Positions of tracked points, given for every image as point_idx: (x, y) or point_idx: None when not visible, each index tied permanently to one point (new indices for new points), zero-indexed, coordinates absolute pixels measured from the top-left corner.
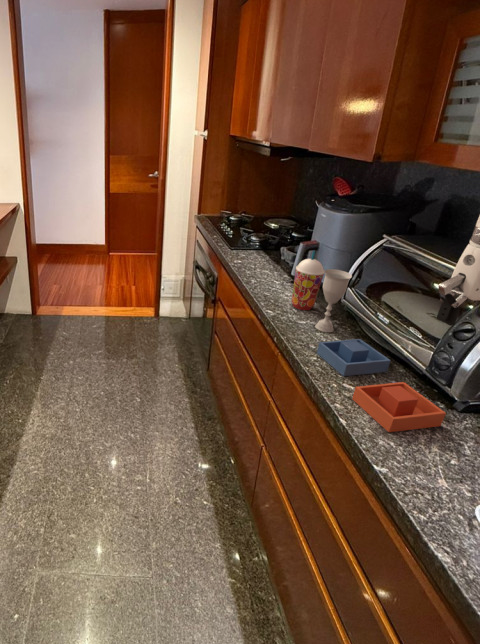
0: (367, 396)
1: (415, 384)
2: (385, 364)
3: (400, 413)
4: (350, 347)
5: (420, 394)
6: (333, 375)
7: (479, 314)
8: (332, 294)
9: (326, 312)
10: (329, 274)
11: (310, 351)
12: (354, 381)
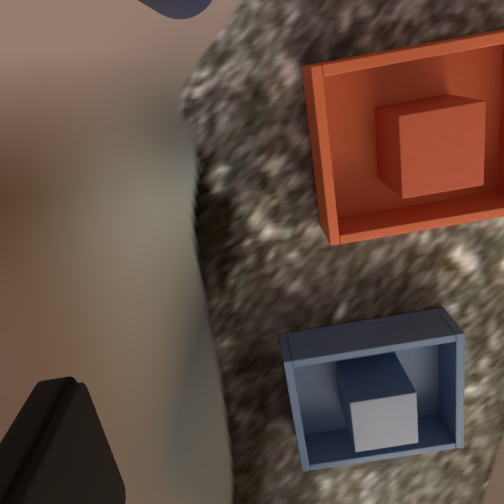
0: None
1: (228, 276)
2: (298, 350)
3: (434, 99)
4: (408, 414)
5: (324, 175)
6: (472, 310)
7: (123, 493)
8: None
9: None
10: None
11: None
12: (424, 283)
